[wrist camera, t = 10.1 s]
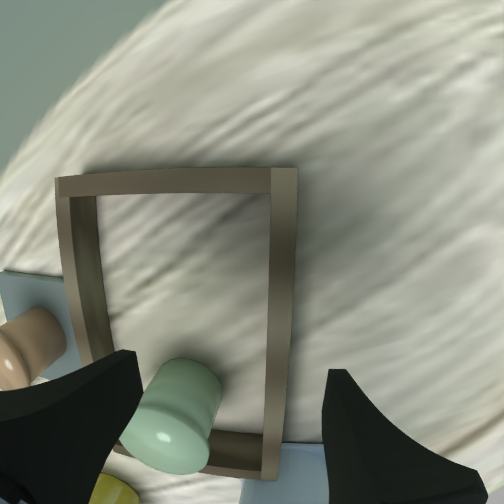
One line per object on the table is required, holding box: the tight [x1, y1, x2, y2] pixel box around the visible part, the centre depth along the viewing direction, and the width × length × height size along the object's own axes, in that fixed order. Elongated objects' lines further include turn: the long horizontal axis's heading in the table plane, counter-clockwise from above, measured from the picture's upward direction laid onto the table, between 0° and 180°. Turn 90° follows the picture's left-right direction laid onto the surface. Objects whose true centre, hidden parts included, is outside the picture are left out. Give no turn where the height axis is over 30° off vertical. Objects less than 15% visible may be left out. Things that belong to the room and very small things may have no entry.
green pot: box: [119, 359, 223, 475], centre depth 19 cm, size 6×6×6 cm
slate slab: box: [0, 271, 83, 380], centre depth 23 cm, size 10×10×1 cm
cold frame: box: [55, 167, 298, 481], centre depth 19 cm, size 21×14×4 cm
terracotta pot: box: [0, 306, 67, 391], centre depth 19 cm, size 6×6×6 cm
